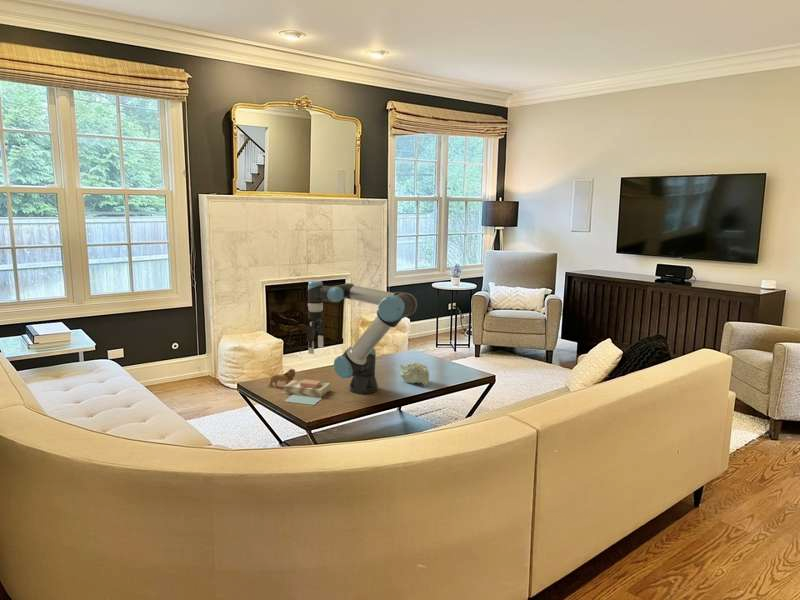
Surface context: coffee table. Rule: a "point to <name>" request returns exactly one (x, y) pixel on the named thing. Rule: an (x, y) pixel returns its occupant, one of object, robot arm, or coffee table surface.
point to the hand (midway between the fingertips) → (316, 350)
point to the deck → (306, 389)
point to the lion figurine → (283, 377)
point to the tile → (310, 383)
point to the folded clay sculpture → (415, 373)
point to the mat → (303, 399)
